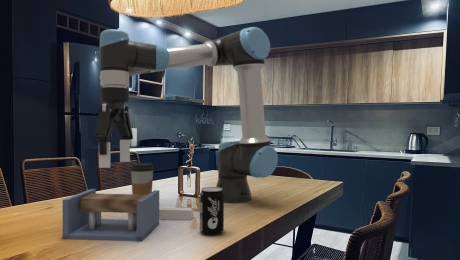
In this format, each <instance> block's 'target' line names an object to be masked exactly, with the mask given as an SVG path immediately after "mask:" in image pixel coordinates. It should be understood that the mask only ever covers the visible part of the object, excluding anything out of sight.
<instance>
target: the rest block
mask: <svg viewBox="0 0 460 260" xmlns="http://www.w3.org/2000/svg"><path fill="white" fill-rule="evenodd" d="M192 219H193V207H159V220H168V221H170V220H171V221H173V220H174V221H175V220H176V221H177V220H178V221H191V220H192Z"/></svg>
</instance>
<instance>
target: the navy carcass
mask: <svg viewBox="0 0 460 260" xmlns="http://www.w3.org/2000/svg"><path fill="white" fill-rule="evenodd" d="M96 190H97V189H96V188H90V189H87V190H85V191H81V192H80V193H77V194H75V195H71V196H69V197H67V198H63V199H62V232H61V233H62V240H63V239H64V240H65V239H67V240H68V239H69V240H94V241H97V240H98V241H128V242H129V241H133V242H143V241H145V239H146V238H147V237H149V235H150V234H151V233H152V232H153V231H154V230H155V229H156V228H157V227H158V226H159V225H160V219H159V209H160V190H159V189H157V190H156V189H155V190H152V192H151V193H149V194H148V195H146V196H145V197H143V198H141V199H140V200H138V201H137V213H128V214H127V216H128V219H115V218H114V219H109V218H108V219H107V218H102V212H80V199H81V198H83V197H86V196H88V195H91V194H97V191H96Z"/></svg>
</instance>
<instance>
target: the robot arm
mask: <svg viewBox="0 0 460 260" xmlns="http://www.w3.org/2000/svg"><path fill="white" fill-rule="evenodd" d="M99 36H100V37H99V47H98V48H99V65H100V66H99V68H100V70H99V71H100V72H99V74H100V75H99V76H98V78H99V80H100V82H99V84H100V86H101V88H100V89H99V90H100V92H99V95H100V97H99V98H100V101H101V103H100V104H99V109H98V110H99V112H98V116H97V119H96V120H97V121H96V125H95V130H94V135H93V140H94V141H93V142H95V143H98V168H99V169H102V168H103V169H105V168H106V169H107V168H109V169H110V168H111V142H110V141H109V140H110V137H111V135H112V131H113V128H114V126H115V125H116V126H117V127H116V128H117V130H118V132H119V136H120V140H119V162H120V163H130V162H131V150H130V149H131V147H130V145H131V140H133V139H134V135H133V129H132V124H131V119H130V113H129V106H127V105H126V106H125V105H124V103H129V101H130V90H129V89H128V88H129V86H130V77H134V76H136V75H143V74H147V73H148V74H150V73H155V72H157V73H158V72H164V71H170V70H176V69H177V70H178V69H183V68H191V67H199V66H208V67H218V66H219V67H223V66H232V69H233V70H234V71H235V72H237V83H238V84H237V85H238V98H239V106H240V107H239V109H240V111H239V112H240V121H241V139H240V140H235V141H226V142H221V143H219V145H218V151H217V154H218V155H217V157H218V158H217V164H218V165H217V168H218V169H217V170H218V171H217V172H218V177H217V178H218V179H217V183H216V186H215V187H219V188H222V192H223V194H224V203H242V202H243V203H244V202H245V203H246V202H248V201H251V200H252V191H251V189H250V185H249V183H248V177H249V176H250V177H253V178H256V179H257V178H258V179H259V178H264V179H265V178H267V177H269V176H271V175H272V174H273V173H274V171H275V170H276V169H277V166H278V162H279V160H278V159H279V157H278V156H279V155H278V152H277V151H276V149H275V148H274V147H272V146H271V139H270V138H269V137H268V136H267V135H266V124H265V112H264V111H265V108H264V97H263V96H264V95H263V83H262V82H263V80H262V71H263V68H264V67H265V63H266V62H265V59H266V58H267V57H268V56H269V54H270V52H271V42H270V40H269V37H268V35H267V34H266V33H265V32H264V30H262V29H261V28H259V27H257V26H250V27H246V28H243V29H241V30H237V31H234V32H232V33H229V34H227V35H225V36H222V37H218V38H216V39H213V40H206V41H205V42H204V43H201V44H191V45H183V46H171V47H165V46H163V45H158V44H157V43H155V44H152V43H144V42H138V41H132V40H130V38H129V34H128V32H126V31H123V30H120V29H114V28H113V29H112V28H109V29H105V30H103V31H101V32H100V35H99ZM102 102H103V103H102Z"/></svg>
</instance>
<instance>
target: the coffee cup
mask: <svg viewBox="0 0 460 260" xmlns="http://www.w3.org/2000/svg"><path fill="white" fill-rule="evenodd" d="M130 173H131V192H132V193H131V194H142V195H148V194H149V193H151V192H153V182H154V181H153V177H154V166H153V163H152V162H151V163H150V162H142V163H141V162H140V163H138V162H137V163H133V164H131V167H130Z"/></svg>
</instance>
